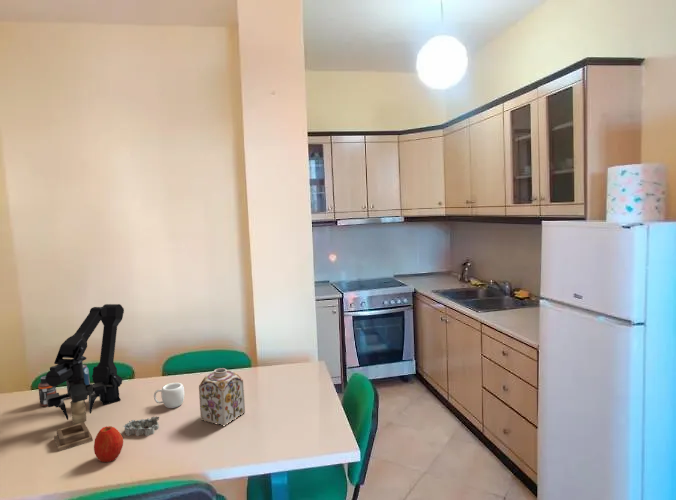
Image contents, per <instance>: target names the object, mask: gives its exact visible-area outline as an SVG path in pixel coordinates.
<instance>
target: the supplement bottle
mask: <svg viewBox="0 0 676 500" xmlns="http://www.w3.org/2000/svg"><path fill="white" fill-rule="evenodd" d="M45 377H46V375H44V376H41V377H40V378H39V379H40V382H39V383H38V384H37V385H38V386H37V387H38V396H39V397H38V398H39V405H40V407H48V405H47V402H46V397H47V395H50V394H54V393H57V386H56V387H52V386H50V385H48V383H47V382H46V379H45Z"/></svg>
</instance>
